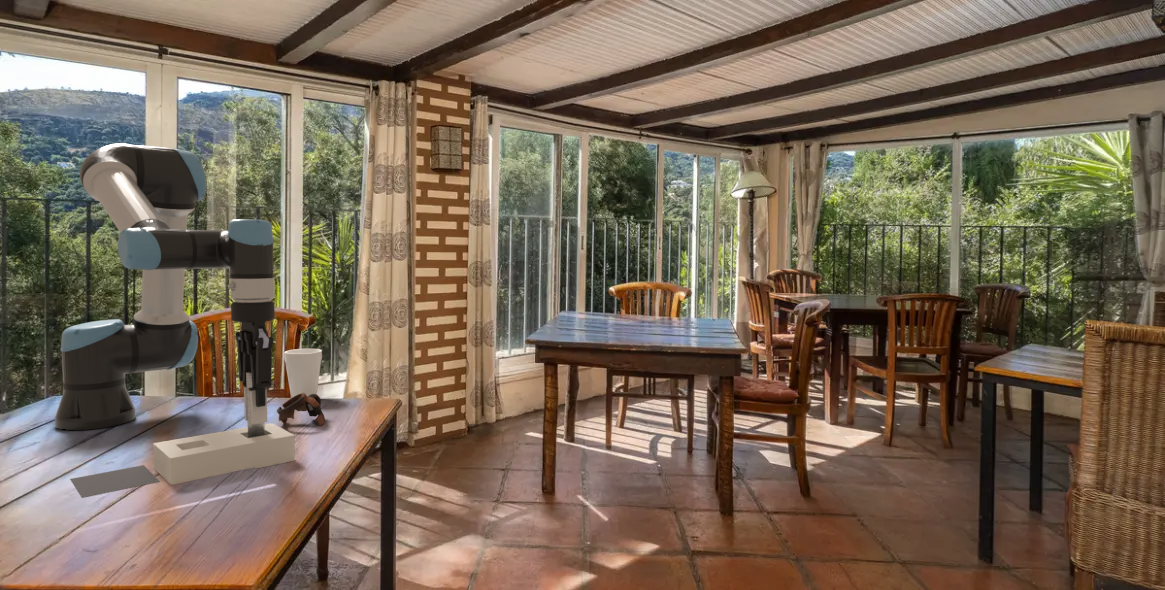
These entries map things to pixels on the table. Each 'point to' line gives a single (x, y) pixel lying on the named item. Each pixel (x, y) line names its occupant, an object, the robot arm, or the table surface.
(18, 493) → the table surface
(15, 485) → the table surface
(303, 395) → the brown arched piece
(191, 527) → the table surface
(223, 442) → the hole block
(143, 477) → the mat
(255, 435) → the peg
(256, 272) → the robot arm
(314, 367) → the foam cup
